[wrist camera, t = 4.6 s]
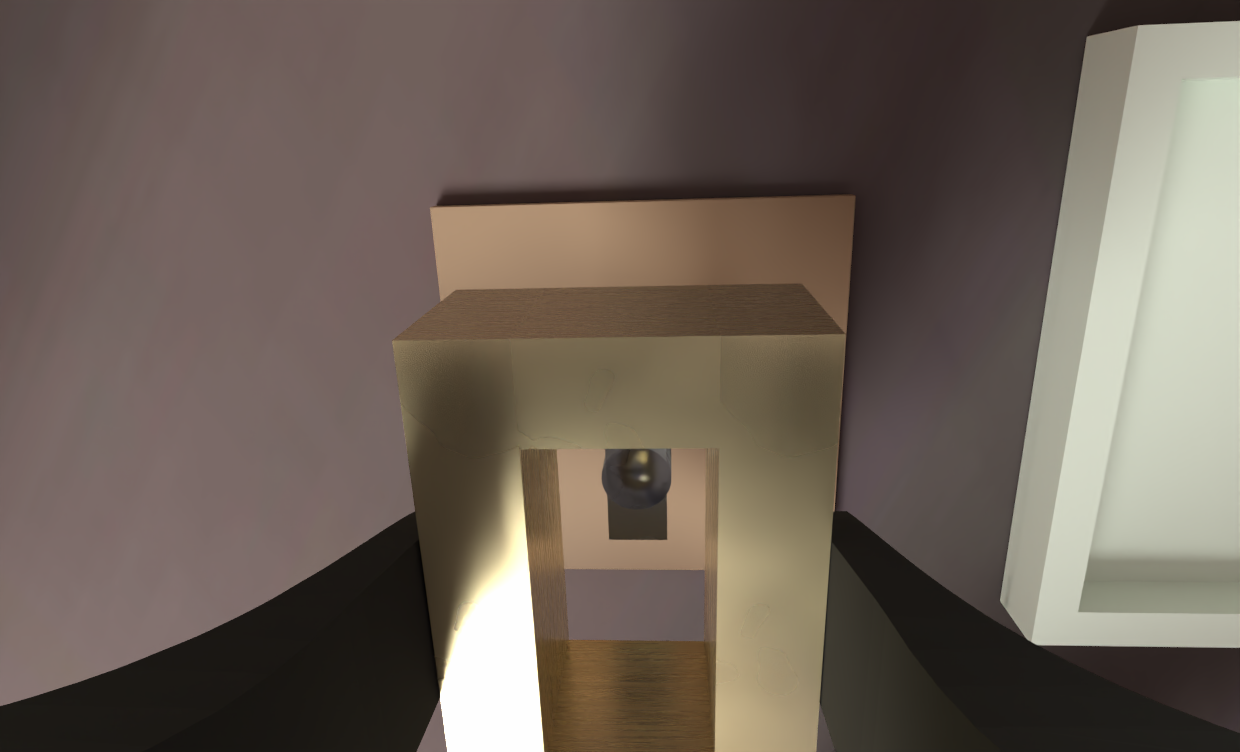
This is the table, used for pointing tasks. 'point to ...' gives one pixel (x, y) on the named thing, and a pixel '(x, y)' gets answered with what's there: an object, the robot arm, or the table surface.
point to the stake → (637, 492)
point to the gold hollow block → (624, 419)
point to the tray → (1139, 358)
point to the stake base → (647, 256)
